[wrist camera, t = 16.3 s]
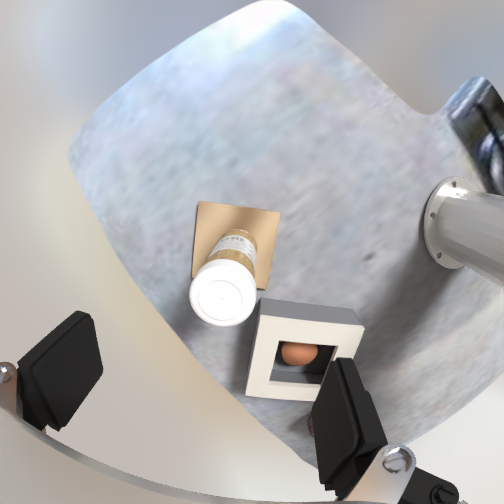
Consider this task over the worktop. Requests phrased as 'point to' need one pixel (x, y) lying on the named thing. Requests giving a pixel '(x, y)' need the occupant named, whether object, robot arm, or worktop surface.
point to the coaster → (235, 217)
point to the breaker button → (298, 352)
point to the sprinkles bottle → (227, 281)
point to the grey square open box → (303, 331)
